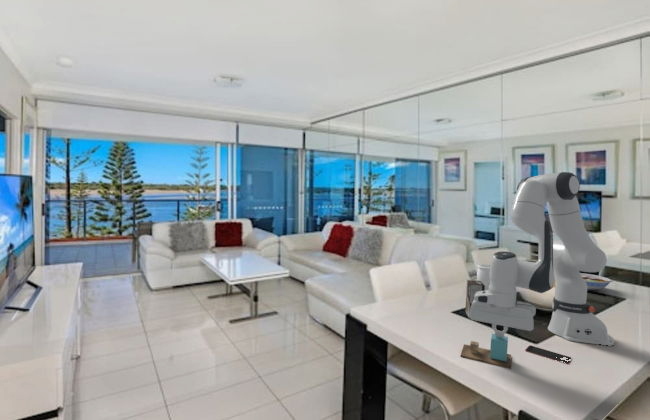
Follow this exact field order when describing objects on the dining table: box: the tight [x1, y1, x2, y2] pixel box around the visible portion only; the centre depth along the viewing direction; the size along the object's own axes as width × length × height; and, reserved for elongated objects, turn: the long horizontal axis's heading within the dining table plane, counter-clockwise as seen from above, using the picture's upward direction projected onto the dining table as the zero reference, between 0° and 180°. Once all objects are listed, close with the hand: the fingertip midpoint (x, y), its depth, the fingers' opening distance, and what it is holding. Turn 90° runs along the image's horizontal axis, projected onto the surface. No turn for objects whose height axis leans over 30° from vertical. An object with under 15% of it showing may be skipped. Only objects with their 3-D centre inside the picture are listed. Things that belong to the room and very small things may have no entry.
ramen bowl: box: [580, 272, 612, 291], centre depth 219 cm, size 25×23×8 cm
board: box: [460, 340, 512, 370], centre depth 126 cm, size 16×10×4 cm, turn 62°
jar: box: [476, 263, 491, 291], centre depth 208 cm, size 11×10×15 cm
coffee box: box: [465, 279, 485, 319], centre depth 166 cm, size 9×6×16 cm
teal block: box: [489, 333, 509, 362], centre depth 124 cm, size 5×5×7 cm
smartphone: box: [524, 345, 572, 365], centre depth 129 cm, size 7×1×14 cm
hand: (499, 336), depth 124 cm, fingers closed
